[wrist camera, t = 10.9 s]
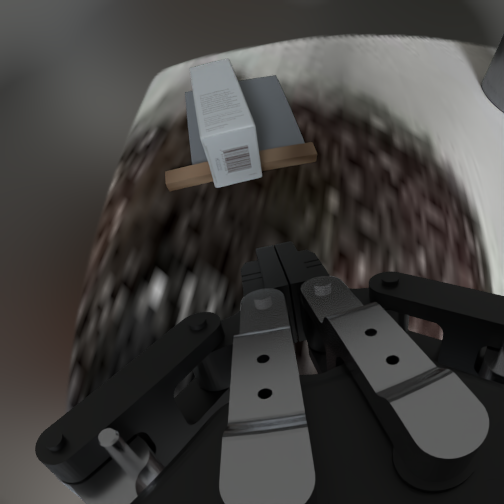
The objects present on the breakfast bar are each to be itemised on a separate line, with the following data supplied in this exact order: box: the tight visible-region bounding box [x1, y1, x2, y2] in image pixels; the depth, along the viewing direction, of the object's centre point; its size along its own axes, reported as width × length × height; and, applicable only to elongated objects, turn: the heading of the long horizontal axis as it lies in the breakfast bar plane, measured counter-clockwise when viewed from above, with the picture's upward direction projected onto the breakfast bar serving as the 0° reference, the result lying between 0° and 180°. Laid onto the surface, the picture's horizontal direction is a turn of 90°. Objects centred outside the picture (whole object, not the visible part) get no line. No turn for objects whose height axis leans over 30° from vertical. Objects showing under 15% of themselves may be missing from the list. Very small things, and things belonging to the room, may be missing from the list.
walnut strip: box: [165, 142, 317, 191], centre depth 29 cm, size 14×2×1 cm, turn 101°
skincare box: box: [190, 58, 262, 188], centre depth 27 cm, size 6×4×12 cm
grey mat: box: [185, 75, 305, 165], centre depth 32 cm, size 11×12×1 cm
